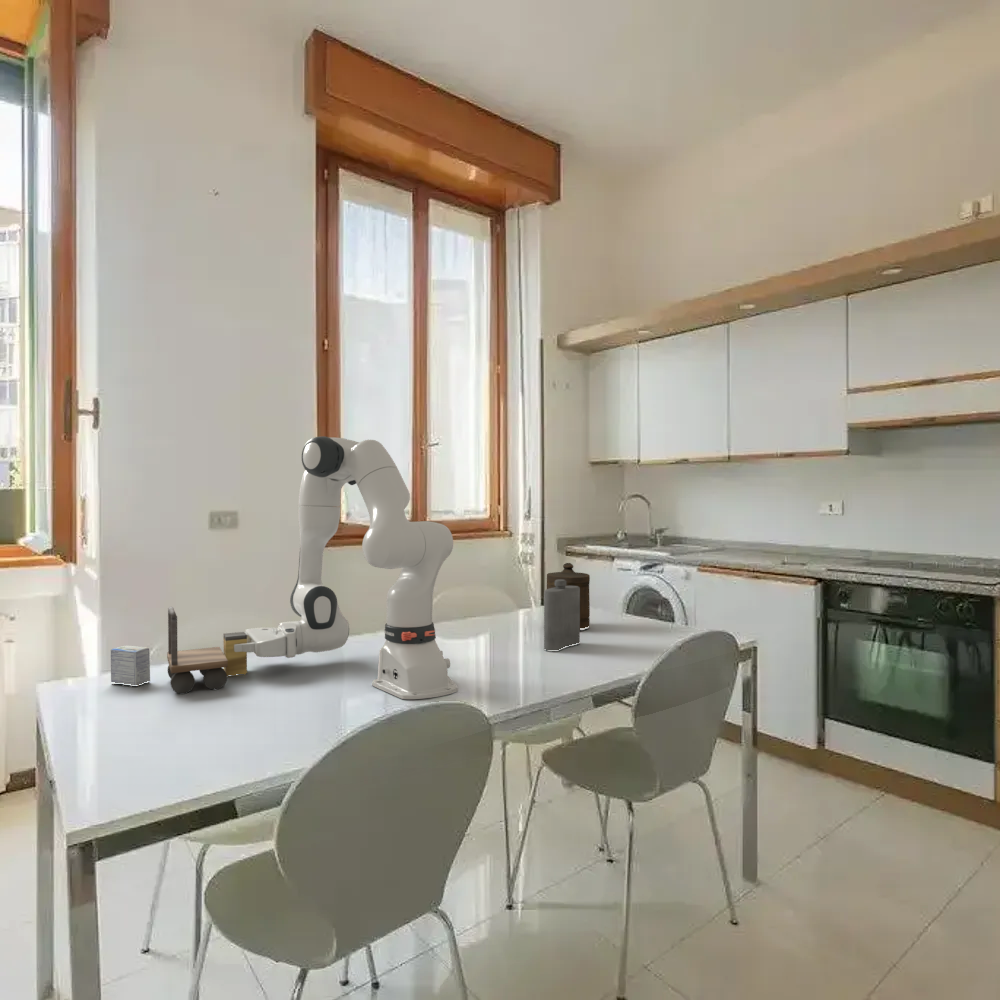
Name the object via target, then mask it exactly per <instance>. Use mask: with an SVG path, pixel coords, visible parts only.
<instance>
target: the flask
mask: <svg viewBox="0 0 1000 1000" xmlns="http://www.w3.org/2000/svg"><path fill="white" fill-rule="evenodd" d="M555 586H556V587H554V588H549V589H547V588H546V589H545V590H543V591H544V592H543V615H544V616H543V650H544V649H546V650H559V649H561V648H563V647H565V646H569V645H572V644H576V643H579V642H580V643H581V641H580V640H581V639H580V635H581V634H580V633H581V631H580V587H578V586H566V580H562V579H559V580H555Z"/></svg>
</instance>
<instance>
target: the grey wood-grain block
mask: <svg viewBox="0 0 1000 1000" xmlns="http://www.w3.org/2000/svg"><path fill="white" fill-rule="evenodd" d="M150 654H151V653H150V648H149V647H148V646H147V647H145V646H137V645H122V646H118V647H114V648H112V649H110V683H111V682H115V683H124V684H131V685H139V684H142V683H144V682H147V681H150V682H151V663H150V661H151V660H150V659H151V658H150V657H151V656H150Z"/></svg>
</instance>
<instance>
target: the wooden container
mask: <svg viewBox="0 0 1000 1000" xmlns="http://www.w3.org/2000/svg"><path fill="white" fill-rule="evenodd" d="M562 567H563V570H562V571H557V572H556V571H555V572H549V573H547V574H546V589H549V588H554V587H556V586H555V580H559V579H562V580H566V586H578V587H580V628H585V627H588V626H589V627H590V613H591V611H590V610H591V608H590V606H591V605H590V582H591V581H590V579H591V577H590V574H589V573H584V572H576V571H574V565H573V564H572V563H571V562H565V563H564V564H563V565H562Z"/></svg>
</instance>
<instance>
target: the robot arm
mask: <svg viewBox="0 0 1000 1000" xmlns="http://www.w3.org/2000/svg"><path fill="white" fill-rule="evenodd" d="M301 464H302V466H303V469H304V472H303V473H302V477H301V481H300V486H299V491H298V492H299V493H298V505H297V506H298V507H297V510H298V512H297V513H298V530H299V556H298V557H299V559H298V572H297V573H298V575H297V580H296V583H295V585H294V588H293V590H292V591H291V594H290V601H289V603H290V607H291V609H292V611H293V612H294V613H295V614H296V615H297V616H299V617H300V618H301V619H300V620H291V621H283V622H282V621H281V622H279V623H278V626H277V627H267V626H266V627H251V628H246V629H244V632H245V633H246V635H247V643H245V644H241V643H239V644H234V651H235V652H247V653H254V654H255V655H256V657H260V658H277V657H285V658H287V659H290V658H291V659H292V658H295V657H296V656H297V655H302V654H305V653H323V652H328V651H334V650H337V649H341V648H342V647H343V646H345V645H346V643H347V642H348V639H349V635H350V624H349V621H348V619H347V618H346V617H345V616H344V615H343V612H342V611H341V608H340V605H339V603H338V597H337V595H336V593H335V592H334V590H332V589H331V588H330V587H327V586H326V585H323V582H322V570H323V557H324V555H323V554H324V551H325V548H326V545H327V544H328V543H329V541H330V540H331V539H332V538H333V537H334V536H335V534H336V533H337V531H338V528H339V525H340V518H341V492H342V488H343V486H345V484H349V485H350V486H354V485H356V486H357V488H358V490H359V492H360V495H361V497H362V499H363V501H364V503H365V504H364V505H365V506H366V508H367V512H368V515H369V527H368V529H367V531H366V533H365V534H364V536H363V539H362V543H361V545H362V546H361V547H362V548H361V549H362V555H363V556H364V558H365V560H366V561H367V563H368V564H369V565H370V566H372V567H375V568H378V569H379V568H380V569H386V570H394V569H401V570H400V573H399V575H398V578H397V579H396V581H395V582H394V583H393V584H392V585H391V586H390V587H389V589H388V591H387V593H386V623H385V625H384V639H385V642H384V644H383V646H382V647H381V648H380V649H379V652H378V668H377V678H376V679H373V680H372V682H371V686H372V687H375V688H377V689H379V690H381V691H384V692H386V693H388V694H390V695H392V696H395V697H396V698H399V699H402V700H422V699H431V698H438V697H443V696H446V695H451V694H453V693H457V692H459V688H458V685H457V684H456V683H455V682H454V681H453V680H452V678H451V677H450V676H449V675H448V669H450V668H451V660H450V658H444V656H443V655H444V652H443V650H441V649H440V647H439V646H438V644H437V642H436V641H437V640H436V639H437V638H436V637H437V636H436V628H435V623H434V622H433V603H434V602H433V597H434V596H433V595H434V590H435V585H436V581H437V577H438V575H439V572H440V570H441V567H442V565H443V564H444V562H445V561H446V560H447V558H448V557H450V555H451V554H452V551H453V549H454V537H453V534H452V532H451V530H450V529H449V527H447V526H446V525H445V524H444V523H439V522H436V521H430V520H424V521H423V520H422V521H419V520H418V521H410V520H409V519H408V518H407V516H406V514H405V509H407V506H408V505H409V503H410V500H411V493H410V491H409V489H408V487H407V484H406V482H405V481H404V478H403V477H402V475H401V472H400V470H399V468H398V466H397V465H396V462H395V461H394V460H393V458H392V456H391V454H390V453H389V451H387V449H386V448H385V447H384V446H383V444H382V443H381V442H380V441H378V440H375V439H365V440H362V441H360V442H359V441H355V440H351V439H347V438H343V437H329V436H324V435H323V436H321V435H320V436H315V437H312V438H310V439H308V440H307V441H306V442H305V444H304V445H303V447H302V451H301Z"/></svg>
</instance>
